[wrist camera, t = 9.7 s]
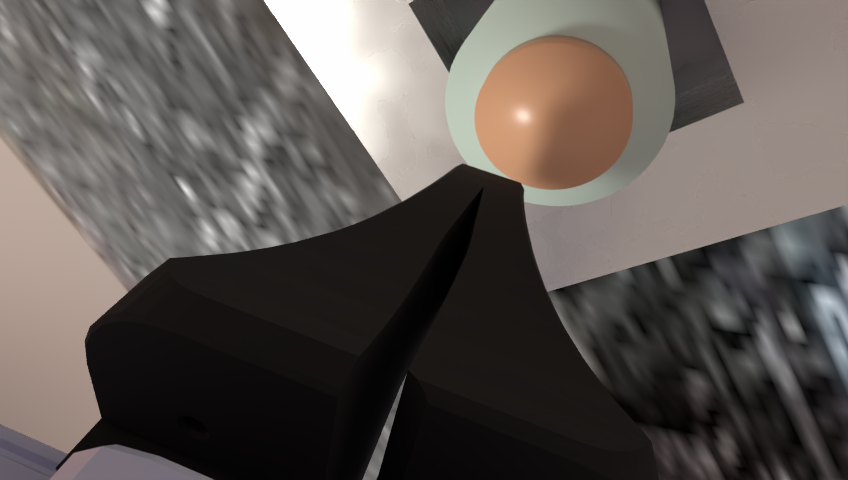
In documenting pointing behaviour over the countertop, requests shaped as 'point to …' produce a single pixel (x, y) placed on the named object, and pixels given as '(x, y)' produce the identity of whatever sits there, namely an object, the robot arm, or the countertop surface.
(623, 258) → the beige square slab
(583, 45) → the cylinder with orange cap
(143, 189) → the countertop surface
